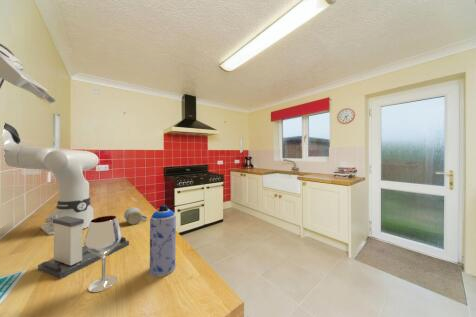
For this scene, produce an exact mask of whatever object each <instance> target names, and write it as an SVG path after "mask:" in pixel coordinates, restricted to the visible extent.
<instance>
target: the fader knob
mask: <svg viewBox="0 0 476 317" xmlns="http://www.w3.org/2000/svg"><path fill="white" fill-rule="evenodd" d="M53 223H54V234H53V259H54V260H56V261H59V262H62V263H64V264H67V265H70V266H71V265H73V264H75V263H77V262H80V261H82V247H83V229H82V225H83V223H84V219H79V218H74V217H69V216H64V217H60V218H56V219H53Z"/></svg>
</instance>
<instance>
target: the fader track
mask: <svg viewBox="0 0 476 317" xmlns="http://www.w3.org/2000/svg"><path fill="white" fill-rule="evenodd" d="M128 246H130V241H129V240H126V237H124V236H122V237H121V240H120V242H119V244H118V245H117V246H116V247H115V248H114V249H113V250H112V251H111V252H110V253H109V254H108V255H107V256H106V257H108V256H110V255H112V254H113V253H116V252H117V251H119V250H121V249H123V248H126V247H128ZM100 260H102V258H101V257H99V256H97V255H94V254H92V253H90V252H88V251H87V250H86V248H85V246H82V261H80V262H77V263H75V264H73V265H71V266H70V265H67V264H64V263H62V262H59V261H56V260H54V258H52V259H50V260H49V259H48V260H46V261H44V262H41V263H39V264H37V270H38V271H40V272H42V273H45V274H47V275H49V276H52V277H54V278H56V279H58V280H62V279H64V278H66V277H68V276H70V275H72V274H74V273H77V271H81V269H83V268H86V267H88V266H89V265H91V264H93V263H96V262H97V261H100Z"/></svg>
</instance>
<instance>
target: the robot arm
mask: <svg viewBox="0 0 476 317" xmlns="http://www.w3.org/2000/svg"><path fill="white" fill-rule="evenodd" d="M4 82H7V83H10V84H12V85H13V86H16V87H17V88H19V89H22V90H25V91H27V92H29V93H31V94H33V95H34V96H36V97H38V98H39V99H41V100H43V99H45V100H46V101H48V102H49V103H51V104H53V103H55V102H56V98H54V97H52V96H51V95H50V93H48V92H49V90H48V89H47V88H46V87H45V86H43V85H42V84H40V83H39V82H38V81H37V80H35V79H34V78H33V77H31V76H30V75H29V74H27V73H25V68H23V62H22V61H21V60H19V59H18V58H17V57H16V56H15V54H14V53H13V52H12V51H11V50H10V49H9V48H8V47H6V46H5V45H4V44H2V43H0V89H2V86H3V84H4ZM4 123H5V125H4V128H3V134H2V136H3V141H4V151H5V155H4V157H5V162H6V164H7V165H8V167H13V168H20V169H25V170H26V169H29V170H41V171H50V172H51V173H52V174H53V175H54V177H55V179H56V181H57V186H58V201H56V202H57V203H56V207H55V208H56V209H55V210H54V211H52V213H50V214H49V215H48V216H47V217H46V218H45V224H44V225H41V226H40V229H41V230H42V231H43V232H44V233H46V235H51V236H53V235H54V223H53V219H56V218H60V217H64V216H69V217H74V218H79V219H84V223H83V225H82V230H83V229H84V230H85V229H88V227H89V224H90V221H91V220H93V219H95V218H94V209H93V206H92V205H91V201H92V200H91V197H90V182H89V181H88V180H87V179H86V178H85V176H84V173H83V172H86V171H90V170H92V169H94V168H96V167H97V166H98V165H99V162H100V159H99V156H98V155H97V154H96V153H94V152H91V151H88V150H79V149H71V148H69V149H68V148H57V147H56V148H55V147H44V146H36V145H35V146H33V145H23V144H20V143H21V138H20V134H19V132H18V131H17V129H16V128H15V127H14V126H12V125H11V124H9V123H7V122H4ZM7 165H6V166H7Z"/></svg>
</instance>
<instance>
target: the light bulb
mask: <svg viewBox="0 0 476 317" xmlns="http://www.w3.org/2000/svg"><path fill="white" fill-rule="evenodd" d="M123 217H124V219H125V221H126V223H127V224H129V225H133V226H134V225H136V224H138V223H140V222H147V221H148V217H147V216H146V215H143V214H142V212H141V211H140V208H138V207H135V206H132V207H128V209H126V210H125V212H124V214H123ZM146 220H147V221H146Z"/></svg>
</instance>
